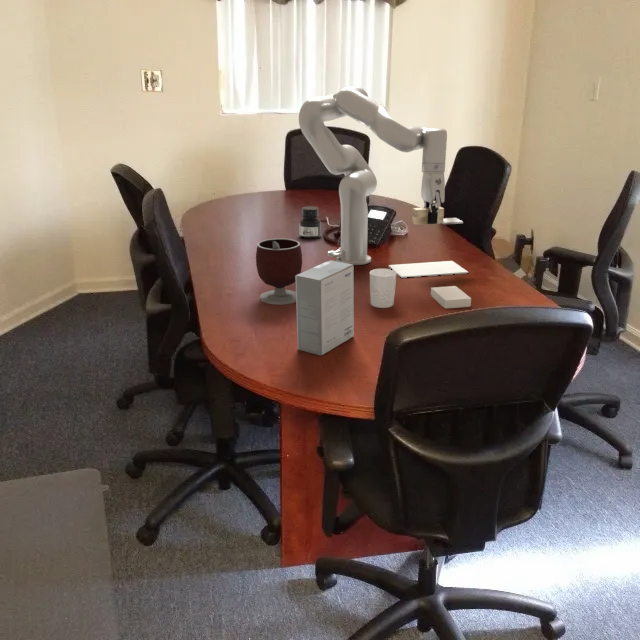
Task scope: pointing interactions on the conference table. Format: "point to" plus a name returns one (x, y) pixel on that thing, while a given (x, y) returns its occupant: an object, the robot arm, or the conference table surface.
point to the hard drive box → (325, 306)
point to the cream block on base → (422, 217)
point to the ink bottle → (310, 223)
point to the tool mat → (427, 269)
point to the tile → (450, 297)
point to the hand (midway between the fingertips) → (430, 221)
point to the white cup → (382, 287)
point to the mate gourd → (278, 268)
